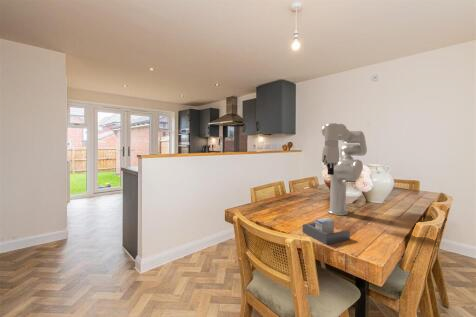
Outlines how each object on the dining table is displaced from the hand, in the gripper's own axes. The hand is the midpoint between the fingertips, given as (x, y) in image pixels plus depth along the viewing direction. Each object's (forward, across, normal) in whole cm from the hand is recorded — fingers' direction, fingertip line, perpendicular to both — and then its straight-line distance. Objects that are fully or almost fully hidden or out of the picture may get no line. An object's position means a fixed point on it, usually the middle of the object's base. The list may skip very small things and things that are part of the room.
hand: (330, 174), depth 137 cm
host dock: (+27, +23, +18) cm, 40 cm away
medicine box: (+27, +25, +19) cm, 42 cm away
